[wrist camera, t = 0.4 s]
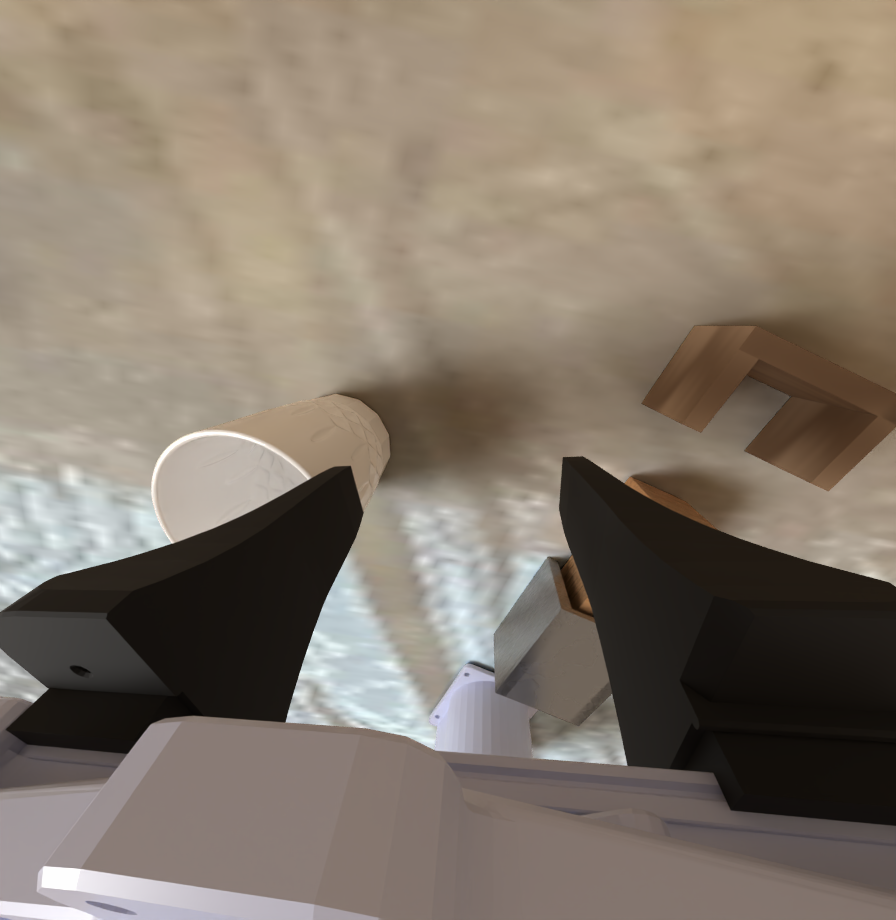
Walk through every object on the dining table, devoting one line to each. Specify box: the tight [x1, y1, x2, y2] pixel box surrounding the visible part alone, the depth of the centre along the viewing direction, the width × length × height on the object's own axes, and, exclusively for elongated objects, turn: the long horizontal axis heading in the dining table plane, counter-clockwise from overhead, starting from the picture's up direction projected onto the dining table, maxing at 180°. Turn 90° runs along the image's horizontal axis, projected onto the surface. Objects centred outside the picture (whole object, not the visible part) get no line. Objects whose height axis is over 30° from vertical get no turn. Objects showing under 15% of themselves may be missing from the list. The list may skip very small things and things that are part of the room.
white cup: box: [151, 394, 390, 544], centre depth 18 cm, size 8×8×10 cm
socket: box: [641, 326, 896, 491], centre depth 17 cm, size 5×8×4 cm, turn 67°
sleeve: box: [494, 557, 612, 726], centre depth 24 cm, size 9×7×5 cm
